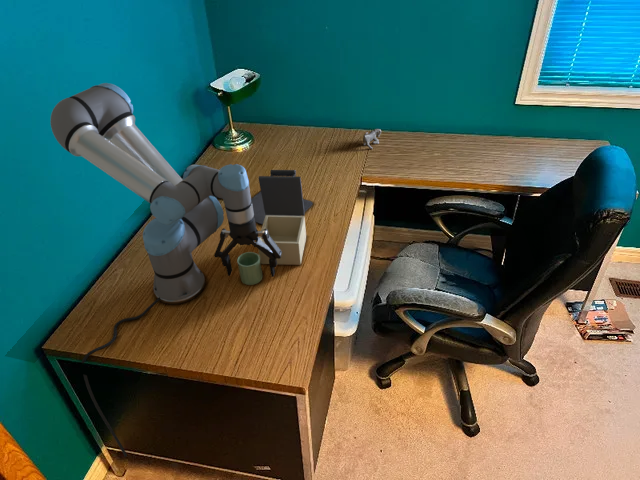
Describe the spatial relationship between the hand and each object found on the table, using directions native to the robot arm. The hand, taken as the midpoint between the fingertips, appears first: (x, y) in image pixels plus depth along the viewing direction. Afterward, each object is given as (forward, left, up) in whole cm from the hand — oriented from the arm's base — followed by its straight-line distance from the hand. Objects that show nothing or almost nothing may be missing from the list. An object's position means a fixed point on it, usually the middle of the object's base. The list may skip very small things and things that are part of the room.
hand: (251, 273), depth 150 cm
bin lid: (+21, -4, +15) cm, 26 cm away
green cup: (0, 0, -2) cm, 2 cm away
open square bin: (+15, -5, -2) cm, 16 cm away
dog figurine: (+95, -20, -2) cm, 97 cm away
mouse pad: (+37, +6, -2) cm, 38 cm away
